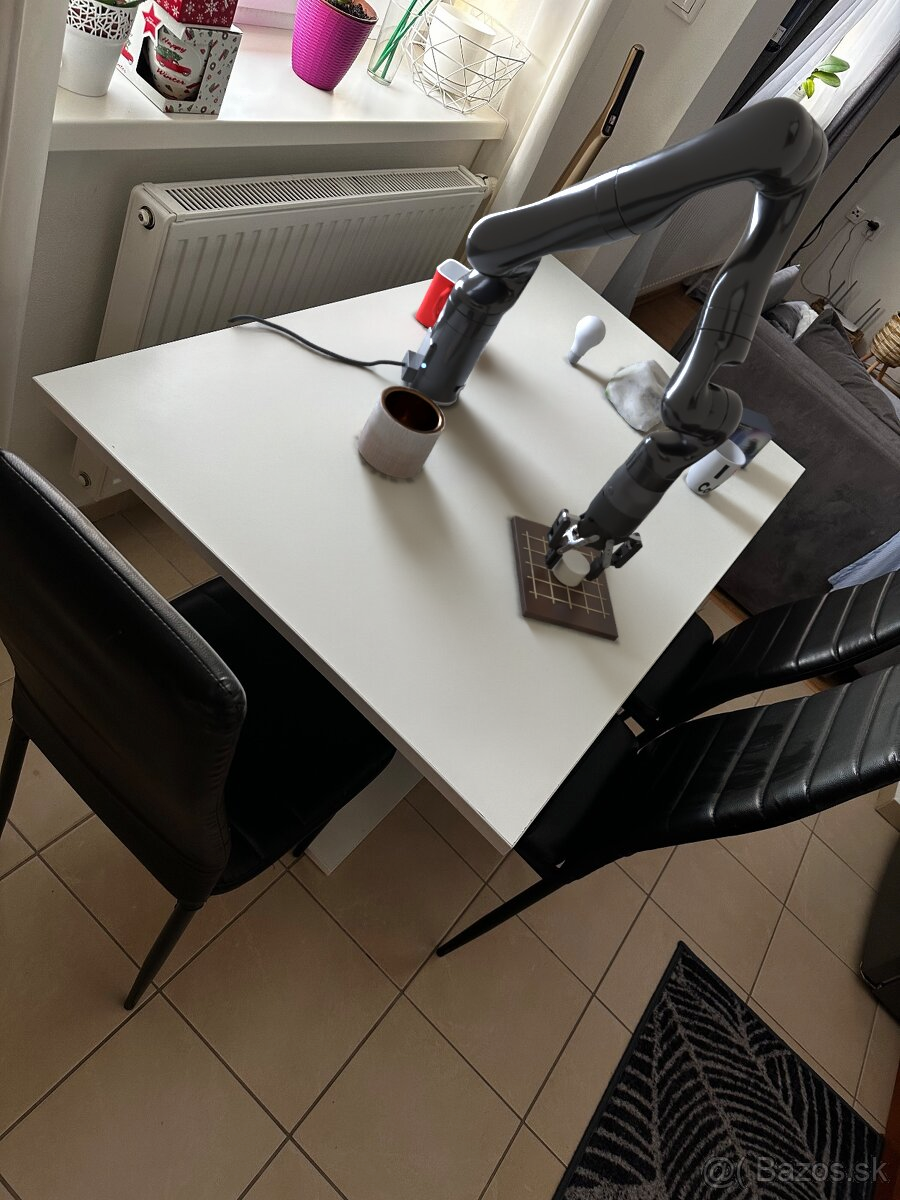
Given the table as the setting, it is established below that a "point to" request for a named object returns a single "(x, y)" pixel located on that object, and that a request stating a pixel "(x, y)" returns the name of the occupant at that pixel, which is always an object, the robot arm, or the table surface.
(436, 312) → the mug
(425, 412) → the planter
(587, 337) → the lightbulb
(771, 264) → the robot arm
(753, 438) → the small box
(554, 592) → the board
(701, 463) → the cup
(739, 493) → the table surface
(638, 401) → the stone
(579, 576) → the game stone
